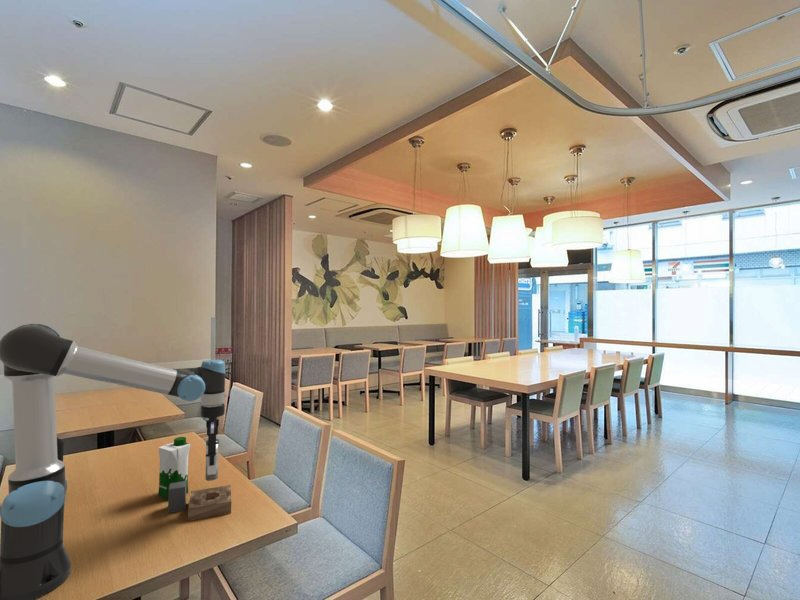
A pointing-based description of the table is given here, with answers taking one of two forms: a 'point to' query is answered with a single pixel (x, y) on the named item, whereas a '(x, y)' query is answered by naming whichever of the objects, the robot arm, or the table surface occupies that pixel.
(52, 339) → the robot arm
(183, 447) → the milk carton
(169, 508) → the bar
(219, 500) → the socket block
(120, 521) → the table surface
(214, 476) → the rod
